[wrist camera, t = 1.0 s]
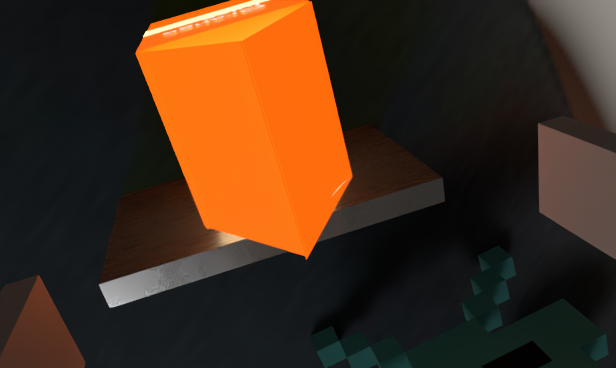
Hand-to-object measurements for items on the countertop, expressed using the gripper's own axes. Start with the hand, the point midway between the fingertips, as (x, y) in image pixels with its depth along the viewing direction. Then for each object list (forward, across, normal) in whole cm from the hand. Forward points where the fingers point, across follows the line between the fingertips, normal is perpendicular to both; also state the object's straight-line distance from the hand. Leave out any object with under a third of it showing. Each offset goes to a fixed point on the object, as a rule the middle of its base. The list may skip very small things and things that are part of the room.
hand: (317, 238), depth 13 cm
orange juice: (+26, 0, 0) cm, 26 cm away
